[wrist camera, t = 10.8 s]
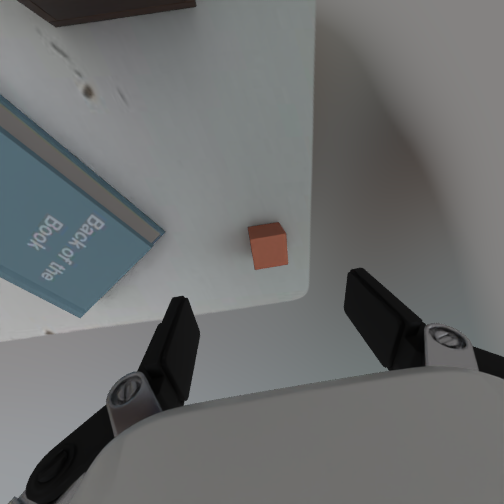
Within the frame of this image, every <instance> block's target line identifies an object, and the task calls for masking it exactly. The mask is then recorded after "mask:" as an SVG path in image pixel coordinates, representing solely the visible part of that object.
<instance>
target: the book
mask: <svg viewBox="0 0 504 504" xmlns="http://www.w3.org/2000/svg"><path fill="white" fill-rule="evenodd" d="M164 233H165V231H164V230H163V229H162V228H160V227H159V226H158V225H157V224H156V223H154V222H153V221H152V220H151V219H150V218H148V217H147V216H146V215H145V214H144V213H142V212H141V211H140V210H139V209H138V208H136V207H135V206H134V205H133V204H132V203H130V202H129V201H128V200H127V199H126V198H124V197H123V196H122V195H121V194H119V193H118V192H117V191H116V190H115V189H113V188H112V187H111V186H110V185H109V184H107V183H106V182H105V181H104V180H103V179H101V178H100V177H99V176H98V175H97V174H95V173H94V172H93V171H92V170H91V169H89V168H88V167H87V166H86V165H85V164H83V163H82V162H81V161H80V160H79V159H77V158H76V157H75V156H74V155H73V154H71V153H70V152H69V151H68V150H67V149H65V148H64V147H63V146H62V145H61V144H59V143H58V142H57V141H56V140H55V139H53V138H52V137H51V136H50V135H49V134H47V133H46V132H45V131H44V130H43V129H41V128H40V127H39V126H38V125H36V124H35V123H34V122H33V121H32V120H30V119H29V118H28V117H27V116H26V115H24V114H23V113H22V112H21V111H20V110H18V109H17V108H16V107H15V106H14V105H12V104H11V103H10V102H9V101H8V100H6V99H5V98H4V97H3V96H2V95H0V277H1V278H3V279H5V280H7V281H9V282H11V283H13V284H15V285H17V286H19V287H21V288H22V289H24V290H26V291H28V292H30V293H32V294H34V295H36V296H38V297H40V298H42V299H44V300H46V301H48V302H50V303H52V304H54V305H56V306H57V307H59V308H61V309H63V310H65V311H67V312H69V313H71V314H73V315H75V316H77V317H79V318H81V317H82V316H83V315H84V314H85V313H86V312H87V311H88V310H89V309H90V308H91V307H92V306H93V305H94V304H95V303H96V302H97V301H98V300H99V299H100V298H101V297H102V296H103V295H104V294H105V293H106V292H107V291H108V290H109V289H110V288H111V287H112V286H113V285H114V284H115V283H116V282H117V281H118V280H119V279H120V278H121V277H122V276H123V275H124V274H126V273H127V272H128V271H129V270H130V269H131V268H132V267H133V266H134V265H135V264H136V263H137V262H138V261H139V260H140V259H141V258H142V257H143V256H144V255H145V254H146V253H147V252H148V251H149V250H150V249H151V248H152V247H153V246H154V245H153V244H154V243H155V242H156V241H157V240H158V239H159V238H160V237H161V236H162V235H163V234H164Z"/></svg>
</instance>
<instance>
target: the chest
mask: <svg viewBox="0 0 504 504" xmlns="http://www.w3.org/2000/svg"><path fill="white" fill-rule="evenodd" d="M17 1H19V2H20V3H22V4H23V5H24V6H26V7H27V8H29V9H30V10H32V11H33V12H34V13H36V14H37V15H39V16H40V17H42V18H43V19H44V20H46V21H47V22H49V23H50V24H52V25H53V26H55V27H61V26H68V25H74V24H81V23H88V22H95V21H102V20H108V19H115V18H122V17H129V16H136V15H142V14H149V13H156V12H163V11H170V10H177V9H183V8H190V7H196V1H195V0H17Z"/></svg>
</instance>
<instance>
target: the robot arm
mask: <svg viewBox="0 0 504 504" xmlns="http://www.w3.org/2000/svg"><path fill="white" fill-rule="evenodd" d="M344 311H345V313H346V314H347V316H348V317H349V319H350V320H351V322H352V323H353V324H354V326H355V327H356V329H357V330H358V332H359V333H360V334H361V336H362V337H363V339H364V340H365V342H366V343H367V344H368V346H369V347H370V349H371V350H372V351H373V353H374V354H375V356H376V357H377V358H378V360H379V361H380V363H381V364H382V365H383V366H384V367H385V368H386V367H387V368H388V370H389V371H385V372H379V373H372V374H366V375H360V376H354V377H348V378H341V379H335V380H329V381H323V382H317V383H310V384H304V385H298V386H292V387H286V388H281V389H274V390H268V391H263V392H257V393H251V394H245V395H239V396H234V397H228V398H222V399H216V400H211V401H206V402H201V403H195V404H190V405H185V406H184V401H186V400H187V399H188V397H189V391H190V386H191V381H192V375H193V370H194V365H195V359H196V354H197V349H198V344H199V338H200V331H199V328H198V325H197V322H196V320H195V317H194V314H193V311H192V308H191V306H190V303H189V300H188V298H185V297H184V296H179V297H173V298H172V300H171V302H170V304H169V307H168V309H167V311H166V314H165V316H164V318H163V321H162V323H160V324H159V325H158V326H157V329H156V331H155V333H154V335H153V337H152V340H151V342H150V344H149V346H148V349H147V351H146V354H145V355H144V358H143V360H142V362H141V364H140V366H139V369H138V371H137V372H132V373H129V374H127V375H126V376H124V377H122V378H121V379H120V380H119V381H117V382H116V383H115V384H114V386H113V387H112V388H111V390H110V392H109V393H108V396H107V399H106V405H105V406H104V407H103V408H102V409H100V410H99V411H98V412H97V413H95V414H94V415H93V416H92V417H90V418H89V419H88V420H87V421H86V422H84V423H83V424H82V425H81V426H80V427H78V428H77V429H76V430H75V431H74V432H72V433H71V434H70V435H69V436H67V437H66V438H65V439H64V440H63V441H61V442H60V443H59V444H58V445H57V446H55V447H54V448H53V449H52V450H51V451H50V452H49V453H48V454H47V455H46V456H44V458H43V459H42V460H41V461H40V462H39V464H38V465H37V466H36V468H35V469H34V471H33V473H32V474H31V476H30V478H29V481H28V483H27V485H26V490H25V491H24V492H23V493H22V494H21V496H20V497H19V498H17V497H14V498H13V499H12V500H11V501H10V502H9V503H8V504H504V357H502V356H499V355H496V354H493V353H490V352H488V351H485V350H482V349H479V348H476V347H473V346H472V344H471V342H470V340H469V339H468V338H467V337H466V336H465V335H464V334H462V333H461V332H460V331H458V330H456V329H454V328H452V327H450V326H447V325H444V324H438V323H431V324H428V325H426V324H425V323H423V322H422V320H421V319H420V318H419V317H418V316H417V315H416V314H415V313H414V312H412V311H411V310H410V309H409V308H408V307H407V306H405V305H404V304H403V303H402V302H401V301H400V300H399V299H398V298H396V297H395V296H394V295H393V294H392V293H391V292H390V291H389V290H387V289H386V288H385V287H384V286H383V285H382V284H381V283H379V282H378V281H377V280H376V279H375V278H374V277H372V276H371V275H370V274H369V273H368V272H367V271H366V270H365V269H363V268H357V269H352V270H351V271H350V272H349V273H348V276H347V285H346V293H345V301H344Z"/></svg>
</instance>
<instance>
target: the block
mask: <svg viewBox="0 0 504 504" xmlns="http://www.w3.org/2000/svg"><path fill="white" fill-rule="evenodd" d="M248 232H249V238H250V244H251V250H252V256H253V261H254V267H255V270H257V269H263V268H269V267H275V266H281V265H287V264H288V254H287V239H286V233H285V231H284V230H283V228H282V227H281V225H280V223H279V222H276V223H270V224H264V225H258V226H252V227H248Z"/></svg>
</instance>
